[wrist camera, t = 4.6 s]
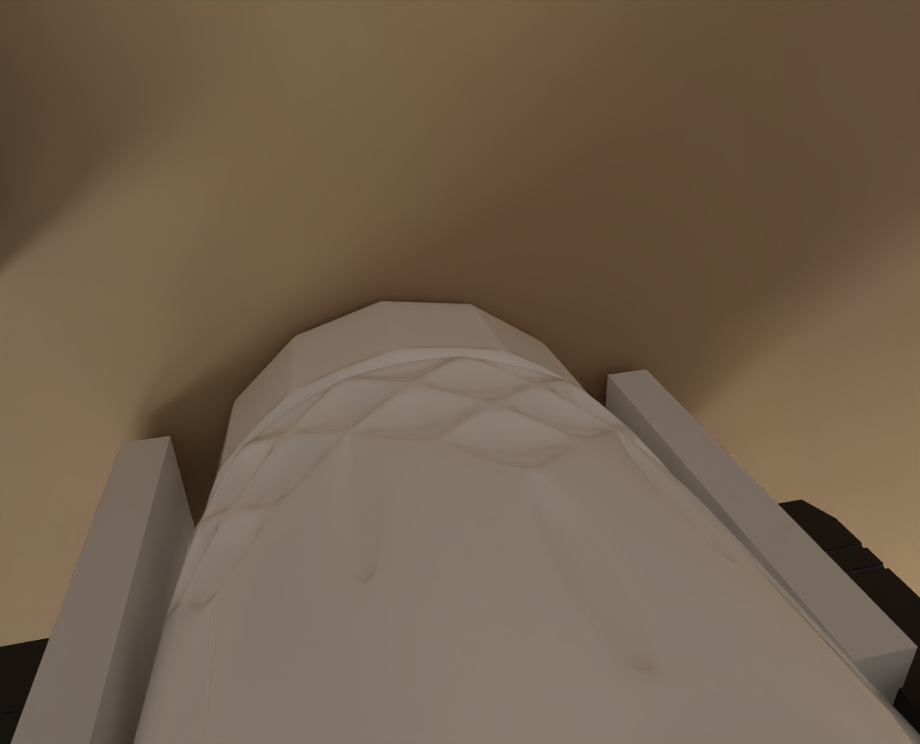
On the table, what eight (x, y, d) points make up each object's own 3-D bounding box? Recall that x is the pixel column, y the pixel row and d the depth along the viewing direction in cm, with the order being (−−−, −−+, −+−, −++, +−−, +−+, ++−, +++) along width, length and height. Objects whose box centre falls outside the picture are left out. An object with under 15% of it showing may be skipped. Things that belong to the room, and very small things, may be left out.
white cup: (520, 637, 16) (796, 1382, 7) (146, 602, 13) (-106, 1693, 5) (674, 324, 13) (1427, 944, 4) (236, 201, 11) (7, 1120, 2)
